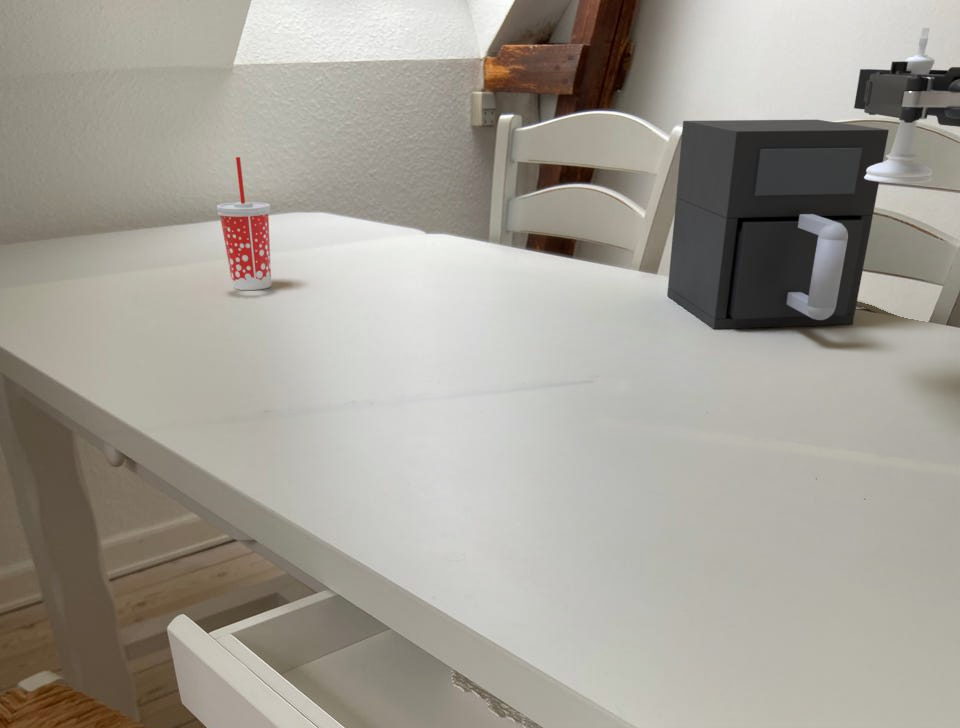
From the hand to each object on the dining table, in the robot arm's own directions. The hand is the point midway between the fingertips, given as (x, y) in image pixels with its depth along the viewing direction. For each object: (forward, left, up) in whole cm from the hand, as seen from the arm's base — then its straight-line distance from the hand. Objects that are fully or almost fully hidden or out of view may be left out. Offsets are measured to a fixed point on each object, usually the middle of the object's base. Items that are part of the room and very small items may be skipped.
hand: (878, 88), depth 79 cm
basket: (+7, -16, -21) cm, 27 cm away
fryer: (+10, -20, -22) cm, 31 cm away
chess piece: (-3, +5, -6) cm, 8 cm away
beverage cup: (+68, -10, -22) cm, 72 cm away
